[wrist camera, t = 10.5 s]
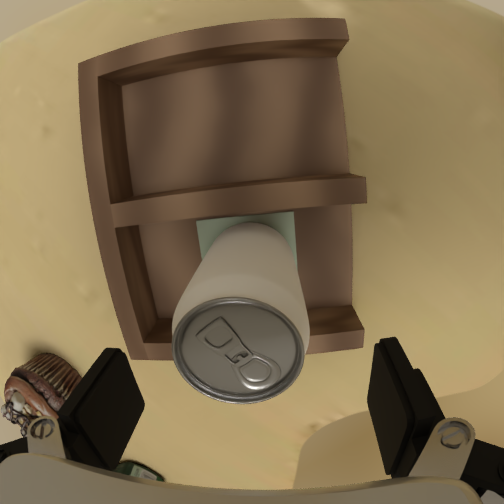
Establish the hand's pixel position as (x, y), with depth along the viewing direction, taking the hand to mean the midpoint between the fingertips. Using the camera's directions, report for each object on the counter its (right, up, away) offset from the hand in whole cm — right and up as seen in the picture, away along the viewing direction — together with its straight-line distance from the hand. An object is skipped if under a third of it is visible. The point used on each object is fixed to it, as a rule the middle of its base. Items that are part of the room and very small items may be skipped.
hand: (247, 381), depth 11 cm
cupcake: (-23, -11, +21) cm, 33 cm away
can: (0, +4, +13) cm, 14 cm away
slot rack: (-2, +9, +13) cm, 16 cm away
